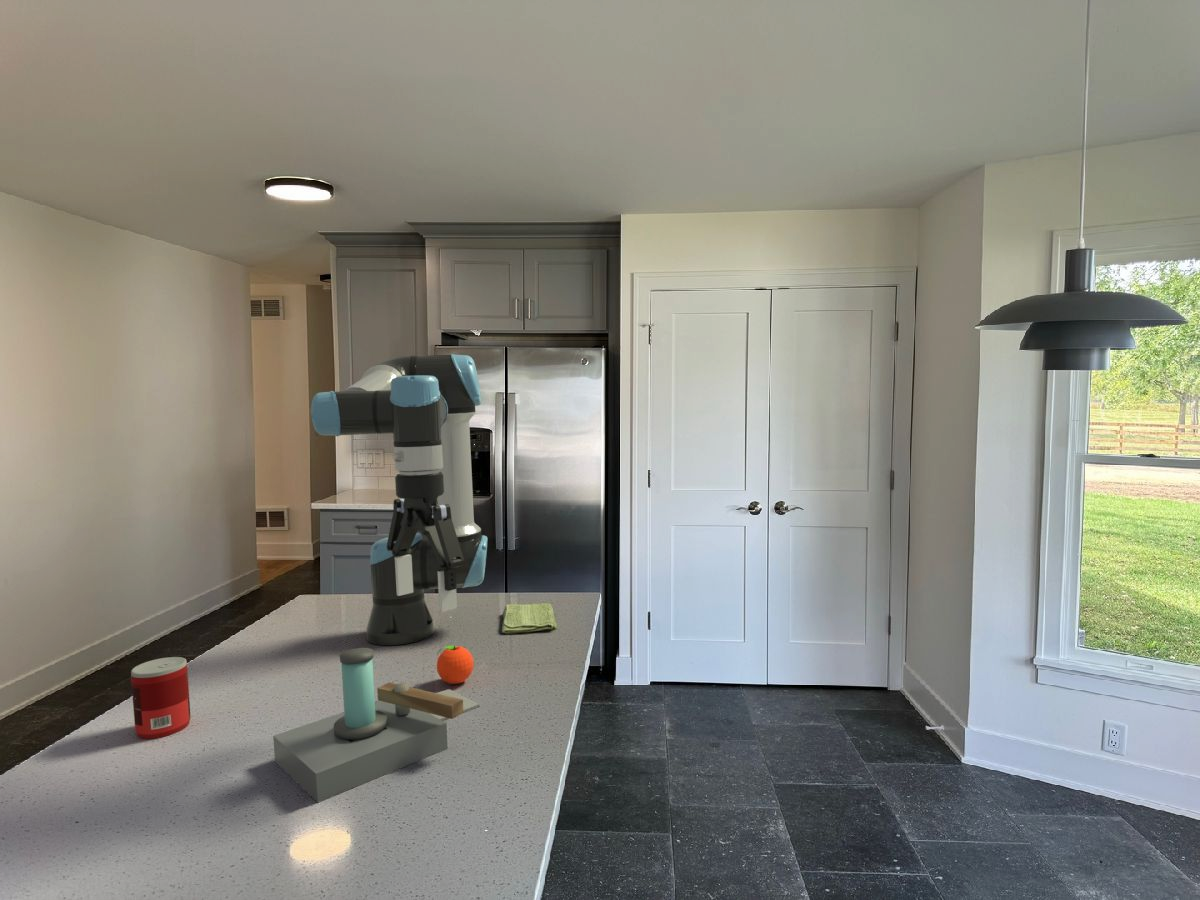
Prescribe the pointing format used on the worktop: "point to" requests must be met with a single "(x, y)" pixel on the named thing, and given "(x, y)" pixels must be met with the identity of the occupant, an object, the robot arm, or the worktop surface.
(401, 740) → the socket block
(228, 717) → the worktop surface
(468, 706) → the mat
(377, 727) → the plug
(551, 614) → the washcloth
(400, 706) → the brown wooden lever
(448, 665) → the clementine
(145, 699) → the canned food
